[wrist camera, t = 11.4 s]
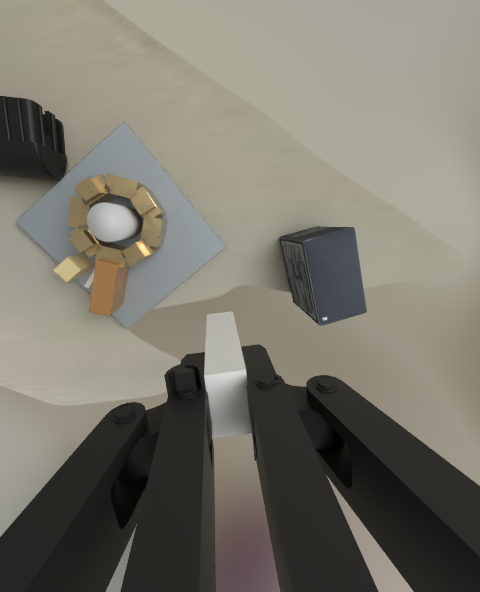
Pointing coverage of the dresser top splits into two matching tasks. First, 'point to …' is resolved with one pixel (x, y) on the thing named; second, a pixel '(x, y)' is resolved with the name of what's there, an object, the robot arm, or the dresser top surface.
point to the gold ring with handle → (110, 255)
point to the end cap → (30, 140)
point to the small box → (325, 273)
